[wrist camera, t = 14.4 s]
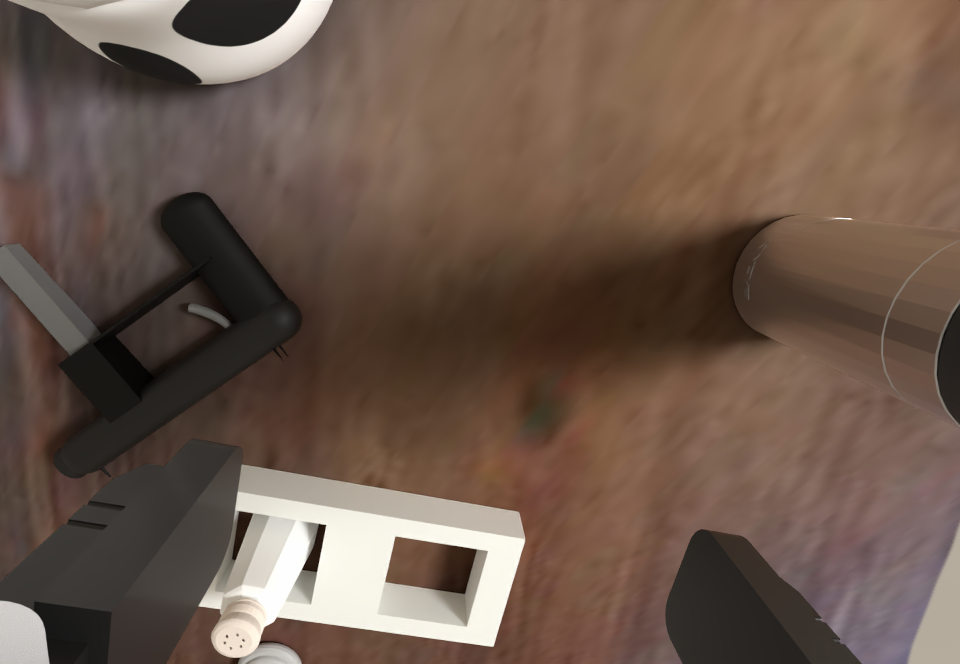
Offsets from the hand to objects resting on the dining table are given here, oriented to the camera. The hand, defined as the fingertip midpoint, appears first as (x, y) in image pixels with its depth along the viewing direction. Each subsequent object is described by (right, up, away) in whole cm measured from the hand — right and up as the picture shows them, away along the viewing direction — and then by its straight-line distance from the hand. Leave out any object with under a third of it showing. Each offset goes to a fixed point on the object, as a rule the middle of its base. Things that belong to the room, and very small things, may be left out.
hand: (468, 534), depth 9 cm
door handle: (-24, +4, +29) cm, 38 cm away
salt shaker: (-15, -12, +34) cm, 39 cm away
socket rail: (-9, -13, +34) cm, 38 cm away
